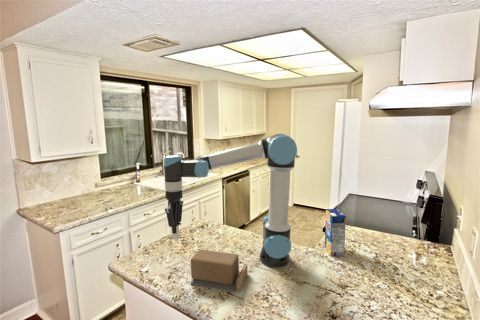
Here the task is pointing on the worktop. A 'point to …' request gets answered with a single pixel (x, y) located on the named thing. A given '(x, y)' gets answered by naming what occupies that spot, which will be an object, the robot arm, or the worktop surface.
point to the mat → (216, 285)
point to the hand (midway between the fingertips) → (175, 238)
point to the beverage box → (335, 232)
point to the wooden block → (215, 267)
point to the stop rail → (241, 278)
